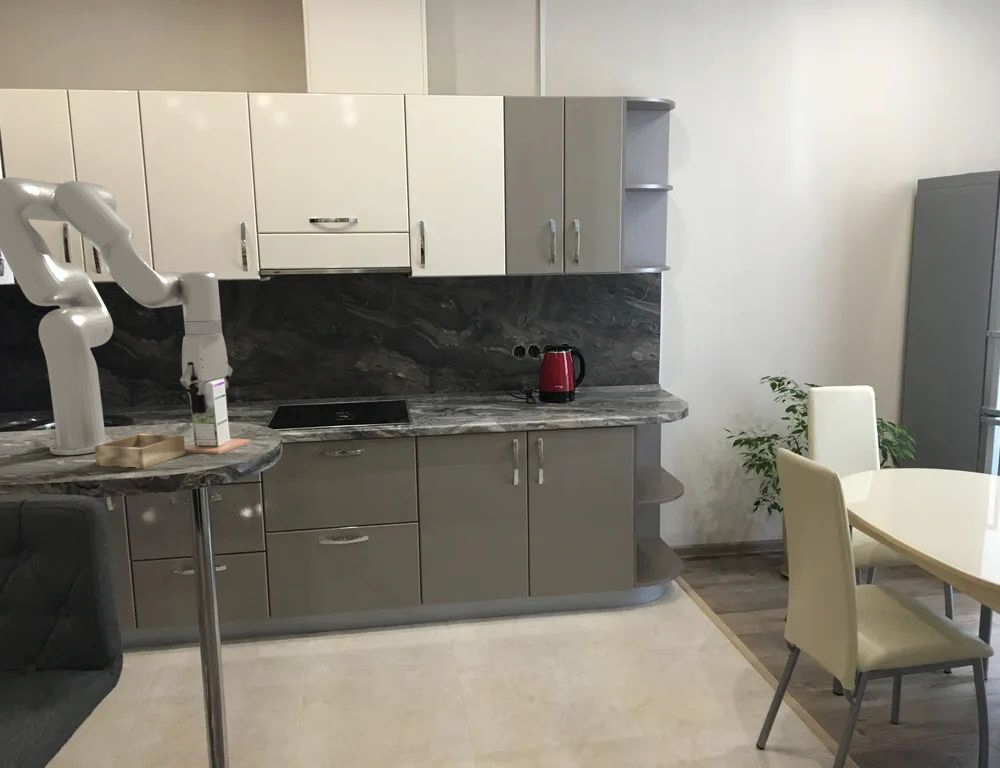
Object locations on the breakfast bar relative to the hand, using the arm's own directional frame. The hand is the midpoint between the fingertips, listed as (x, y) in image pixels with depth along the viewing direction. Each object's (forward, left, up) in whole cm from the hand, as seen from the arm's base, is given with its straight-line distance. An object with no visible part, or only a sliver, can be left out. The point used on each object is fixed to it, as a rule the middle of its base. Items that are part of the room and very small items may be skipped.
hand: (210, 408), depth 169 cm
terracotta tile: (0, 0, -9) cm, 9 cm away
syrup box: (0, 0, -8) cm, 8 cm away
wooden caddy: (-8, -13, -9) cm, 17 cm away
